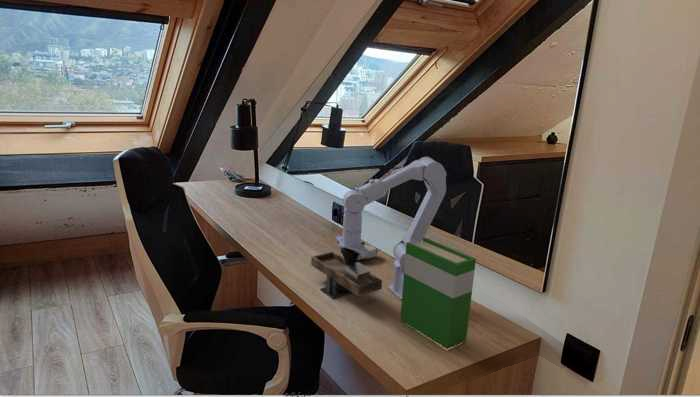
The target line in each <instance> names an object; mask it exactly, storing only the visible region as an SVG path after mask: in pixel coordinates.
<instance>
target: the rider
mask: <svg viewBox="0 0 700 397" xmlns="http://www.w3.org/2000/svg"><path fill="white" fill-rule="evenodd" d="M370 273H371V271H370V270H369V269H368V268H367V267H366V266H364V265H363V264H362V263H361V262H359V261H358V262H357V261H356V262H355V263H353V264H350V265H346V269H345V277H347V278H348V279H350V280H351V281H353V282H355V283H356V284H358V285H362V284H365V283H368V282H369V277H370Z"/></svg>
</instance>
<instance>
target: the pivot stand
mask: <svg viewBox="0 0 700 397" xmlns="http://www.w3.org/2000/svg"><path fill="white" fill-rule="evenodd" d="M319 291H321V292H322V293H323V294H325V295H326V296H327V297H329V298H330V299H331V300H334V299H337V298H340V297H341V298H342V297H344V296H346V295H350V294H353V293H352V292H351V291H349V290H348V289H346V288H345V287H343V286H342V285H340V284H339V283H337V282H336V281H334V280H333V277H332V276H331V275H328V276H327V275H326V286H325V287H321V288H320V289H319Z"/></svg>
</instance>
